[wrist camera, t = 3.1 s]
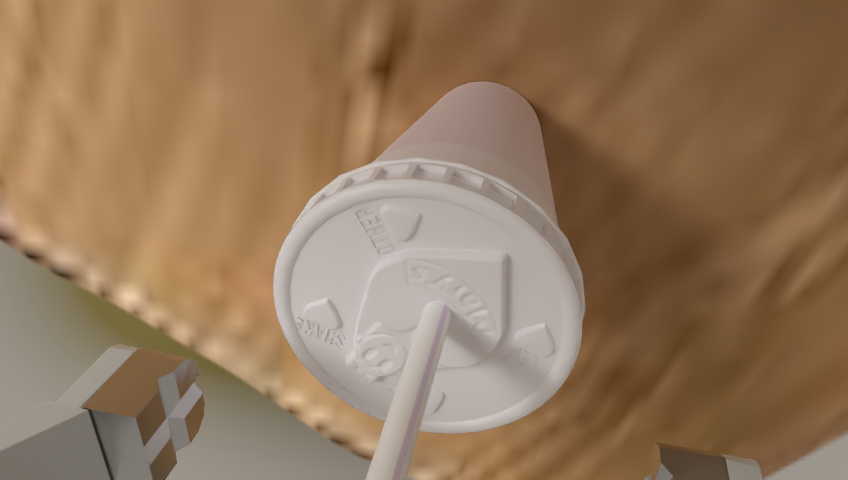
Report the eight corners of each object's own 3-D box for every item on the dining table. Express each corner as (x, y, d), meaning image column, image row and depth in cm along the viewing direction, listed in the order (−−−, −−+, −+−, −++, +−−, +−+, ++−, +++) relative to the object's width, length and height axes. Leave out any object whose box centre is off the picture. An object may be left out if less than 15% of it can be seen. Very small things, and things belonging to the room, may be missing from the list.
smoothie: (630, 140, 20) (690, 555, 9) (485, 257, 24) (386, 673, 12) (479, -11, 19) (309, 239, 7) (348, 135, 22) (84, 470, 11)
